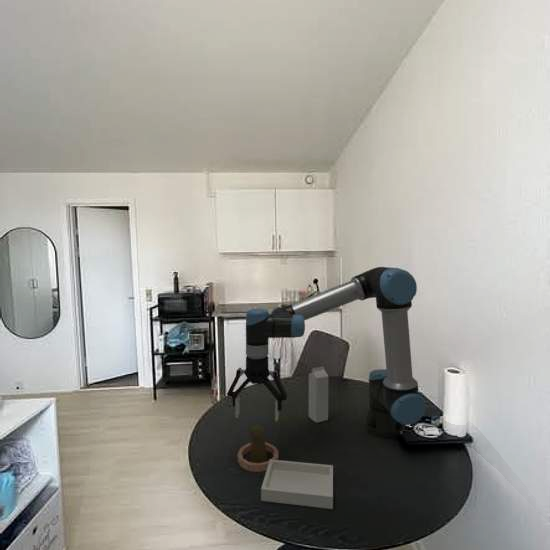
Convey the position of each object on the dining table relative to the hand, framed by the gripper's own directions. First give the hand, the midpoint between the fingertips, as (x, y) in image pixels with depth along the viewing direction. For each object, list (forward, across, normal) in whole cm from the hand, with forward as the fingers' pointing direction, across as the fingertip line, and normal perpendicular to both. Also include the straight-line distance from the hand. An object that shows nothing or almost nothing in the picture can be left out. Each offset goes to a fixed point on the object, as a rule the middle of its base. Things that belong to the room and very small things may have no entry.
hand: (257, 417), depth 116 cm
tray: (+14, -15, +12) cm, 24 cm away
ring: (+14, 0, 0) cm, 15 cm away
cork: (+15, 0, 0) cm, 15 cm away
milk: (+14, -19, -32) cm, 40 cm away
